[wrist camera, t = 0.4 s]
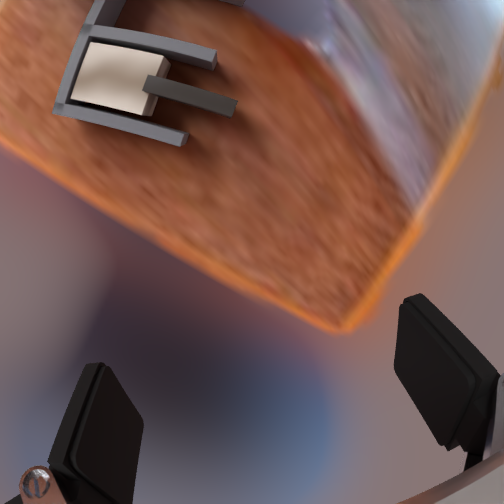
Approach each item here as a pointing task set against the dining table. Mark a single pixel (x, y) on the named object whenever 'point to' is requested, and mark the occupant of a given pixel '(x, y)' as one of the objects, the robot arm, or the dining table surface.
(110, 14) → the lane rack
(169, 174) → the dining table surface
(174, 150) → the dining table surface
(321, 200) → the dining table surface
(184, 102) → the cream block
